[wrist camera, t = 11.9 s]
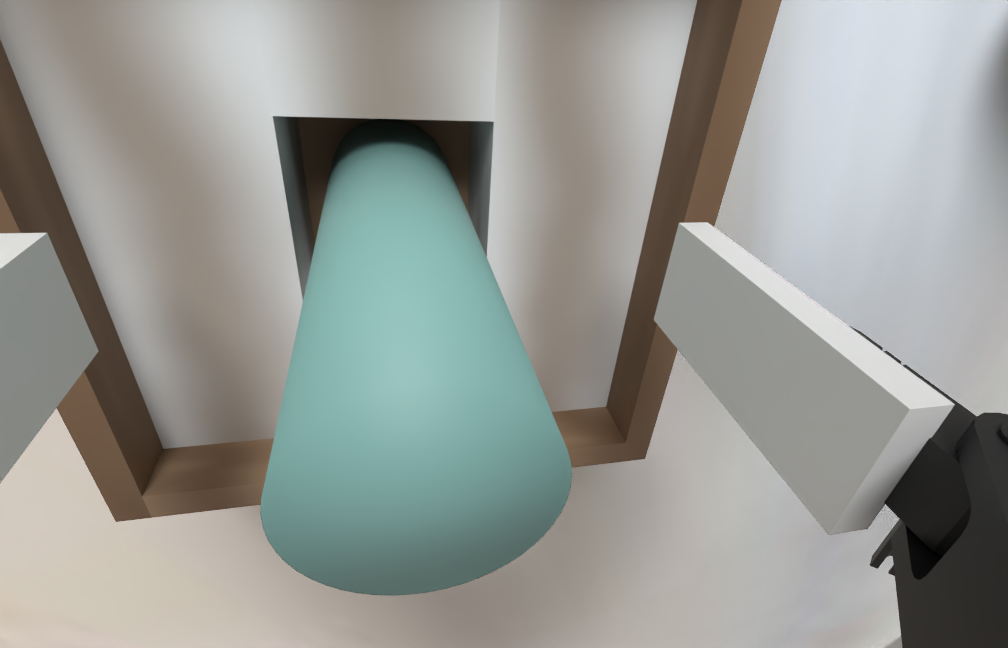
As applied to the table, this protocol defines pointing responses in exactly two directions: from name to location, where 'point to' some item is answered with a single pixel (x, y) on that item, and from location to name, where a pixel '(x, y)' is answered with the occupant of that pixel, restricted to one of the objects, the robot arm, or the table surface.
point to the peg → (407, 390)
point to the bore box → (303, 183)
